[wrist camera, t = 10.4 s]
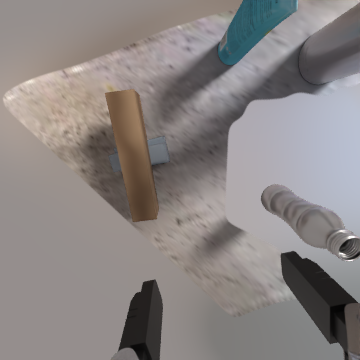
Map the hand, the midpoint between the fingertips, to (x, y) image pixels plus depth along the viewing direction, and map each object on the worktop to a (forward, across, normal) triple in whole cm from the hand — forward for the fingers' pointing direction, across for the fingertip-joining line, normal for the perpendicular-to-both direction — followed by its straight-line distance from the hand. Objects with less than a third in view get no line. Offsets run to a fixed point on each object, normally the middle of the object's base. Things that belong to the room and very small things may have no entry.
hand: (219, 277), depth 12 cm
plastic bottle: (+30, -18, +10) cm, 37 cm away
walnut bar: (+23, +8, -6) cm, 25 cm away
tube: (+30, -13, -21) cm, 39 cm away
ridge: (+30, +8, -6) cm, 32 cm away
